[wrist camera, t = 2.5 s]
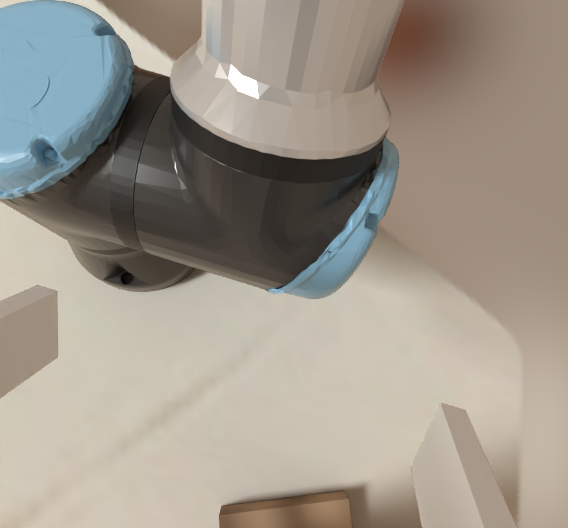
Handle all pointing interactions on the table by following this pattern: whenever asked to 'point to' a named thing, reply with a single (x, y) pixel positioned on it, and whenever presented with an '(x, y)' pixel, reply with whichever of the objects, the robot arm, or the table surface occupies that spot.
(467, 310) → the table surface
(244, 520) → the stand
